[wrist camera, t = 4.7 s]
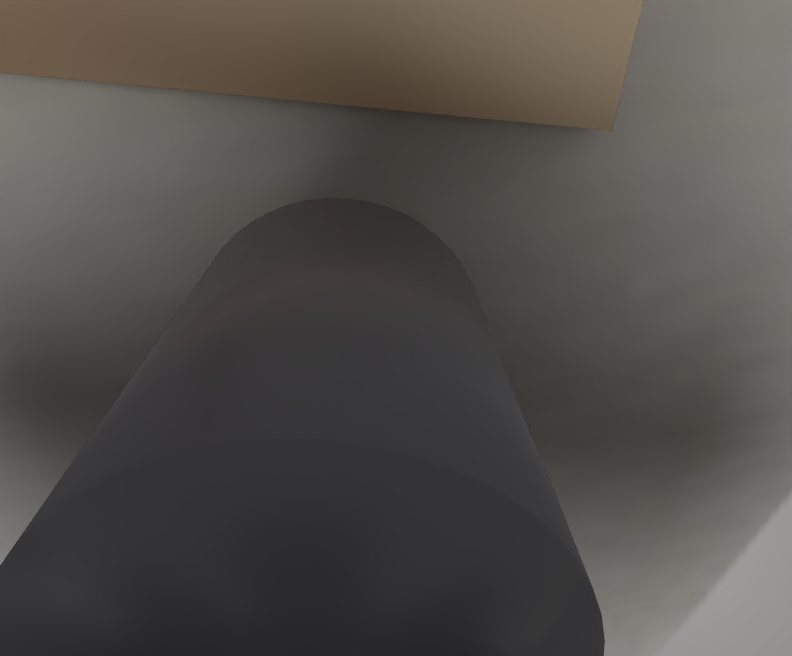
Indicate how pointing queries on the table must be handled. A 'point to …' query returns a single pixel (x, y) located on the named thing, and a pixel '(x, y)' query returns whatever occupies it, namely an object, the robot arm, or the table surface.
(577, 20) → the cork mat
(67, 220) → the table surface
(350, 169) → the table surface
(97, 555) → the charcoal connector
